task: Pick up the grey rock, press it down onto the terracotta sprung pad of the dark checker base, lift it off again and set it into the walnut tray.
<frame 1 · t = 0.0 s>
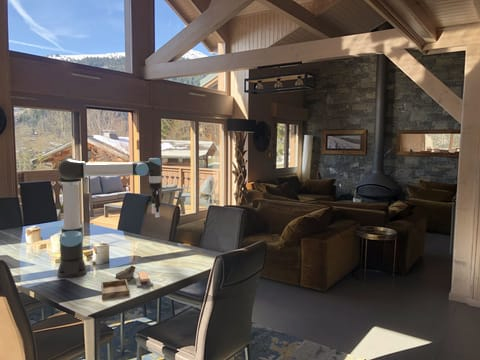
hand: (155, 215, 241), 28 cm above the table, fingers open, 13 cm apart
checker base: (143, 282, 201), on the table
checker pad: (143, 276, 201), point 3 cm above the table, slide at -1.0 cm
tray: (115, 291, 189), on the table
rock: (125, 280, 206), on the table
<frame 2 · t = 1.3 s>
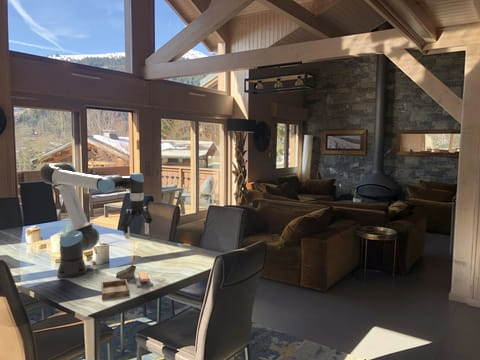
hand: (137, 236, 218), 20 cm above the table, fingers open, 13 cm apart
rock: (125, 279, 207), on the table
everything else where it was.
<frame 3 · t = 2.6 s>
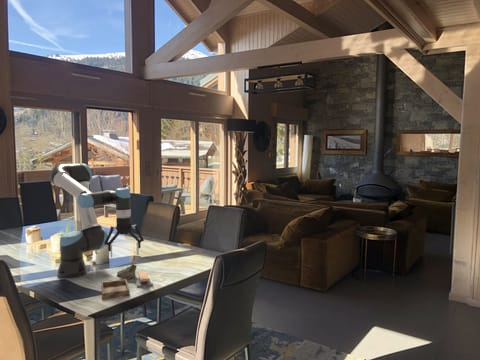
hand: (124, 255, 204), 14 cm above the table, fingers open, 13 cm apart
rock: (126, 278, 208), on the table
everything else where it was.
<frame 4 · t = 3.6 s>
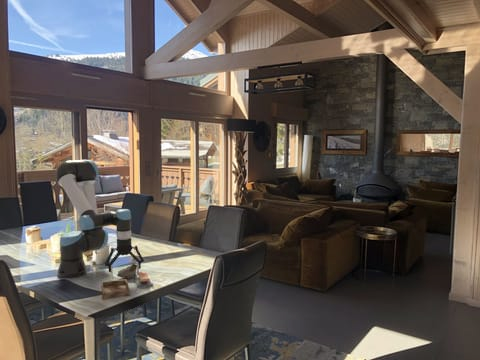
hand: (125, 276, 205), 2 cm above the table, fingers open, 13 cm apart
rock: (127, 277, 209), on the table, touching gripper
everything else where it was.
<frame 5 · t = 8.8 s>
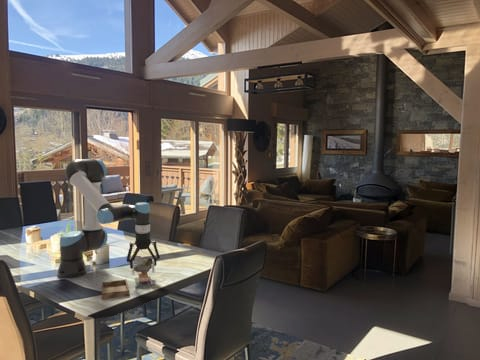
hand: (143, 272, 201), 5 cm above the table, fingers closed on rock, 10 cm apart
rock: (142, 272, 205), point 4 cm above the table, touching gripper
everything else where it was.
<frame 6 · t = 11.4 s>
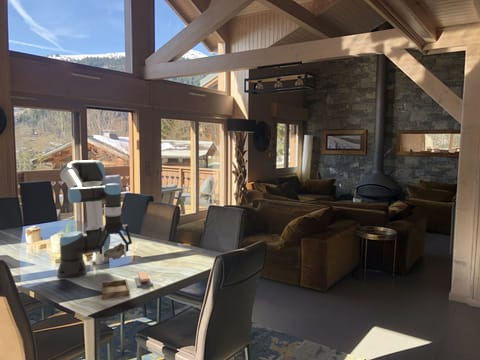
hand: (114, 259, 187), 17 cm above the table, fingers closed on rock, 10 cm apart
rock: (114, 258, 191), point 16 cm above the table, touching gripper
everything else where it was.
when the fingers open (4 cm above the table, at t = 13.8 s): rock stays where it is, resting on tray.
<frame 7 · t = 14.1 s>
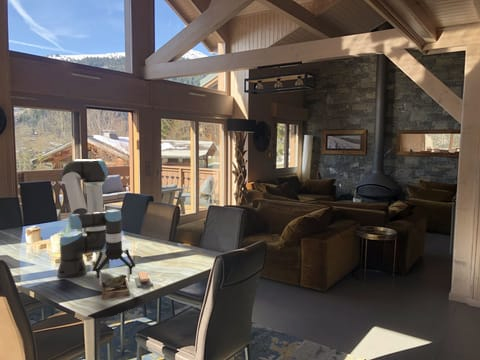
hand: (114, 282, 189), 5 cm above the table, fingers open, 13 cm apart
rock: (115, 285, 193), point 2 cm above the table, touching tray
everything else where it was.
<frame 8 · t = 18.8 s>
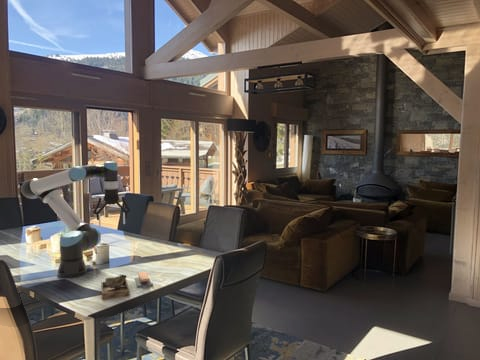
hand: (112, 224, 219), 27 cm above the table, fingers open, 13 cm apart
nothing on the table moved.
at the end: rock inside the target area on the tray (4.2 cm from its centre), point 1.7 cm above the tray's base; the gripper is holding nothing; rock moved 12.3 cm from its start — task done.
